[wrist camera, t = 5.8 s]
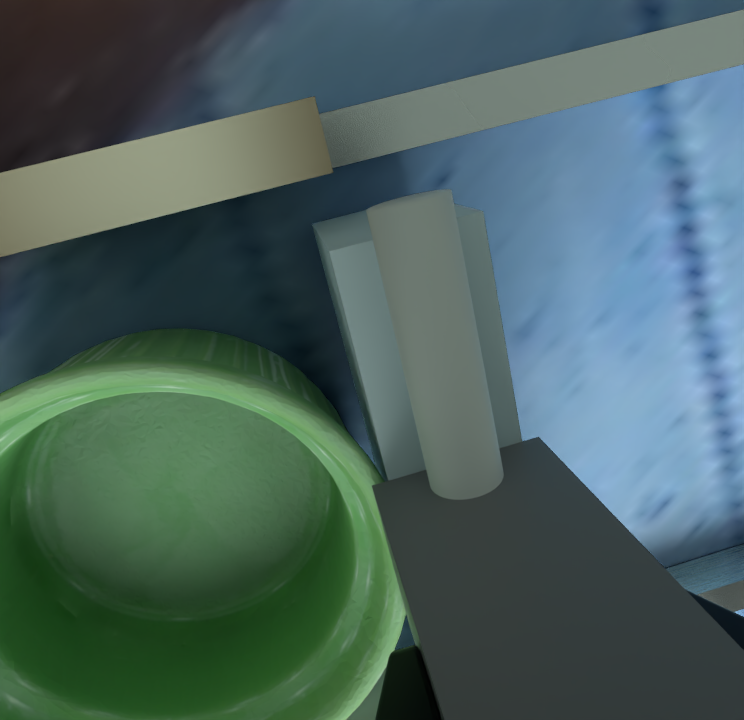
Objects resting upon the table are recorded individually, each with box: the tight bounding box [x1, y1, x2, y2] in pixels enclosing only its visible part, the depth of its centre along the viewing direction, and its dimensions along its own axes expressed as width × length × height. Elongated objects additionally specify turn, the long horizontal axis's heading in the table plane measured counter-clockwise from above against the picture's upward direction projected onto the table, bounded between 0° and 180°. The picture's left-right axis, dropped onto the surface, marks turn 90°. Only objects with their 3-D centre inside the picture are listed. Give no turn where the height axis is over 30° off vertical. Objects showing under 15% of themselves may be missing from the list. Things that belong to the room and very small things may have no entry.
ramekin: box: [0, 328, 406, 720], centre depth 13 cm, size 9×9×4 cm
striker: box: [312, 189, 744, 720], centre depth 10 cm, size 3×12×11 cm, turn 13°
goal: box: [0, 10, 744, 720], centre depth 13 cm, size 31×15×5 cm, turn 103°
